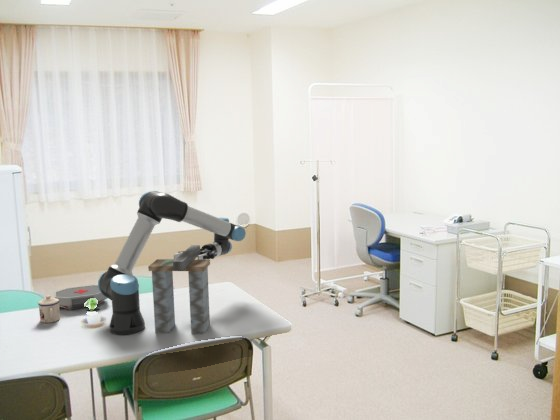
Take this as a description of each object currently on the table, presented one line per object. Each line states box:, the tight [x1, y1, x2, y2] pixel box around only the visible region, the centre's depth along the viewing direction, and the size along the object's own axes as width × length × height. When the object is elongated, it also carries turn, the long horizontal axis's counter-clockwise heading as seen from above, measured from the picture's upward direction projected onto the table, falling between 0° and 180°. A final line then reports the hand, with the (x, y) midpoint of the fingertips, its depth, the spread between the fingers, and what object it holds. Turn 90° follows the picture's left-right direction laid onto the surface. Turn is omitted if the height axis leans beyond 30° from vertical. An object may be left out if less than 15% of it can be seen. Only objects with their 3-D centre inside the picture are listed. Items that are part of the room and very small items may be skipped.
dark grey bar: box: [173, 244, 201, 272], centre depth 236 cm, size 4×30×4 cm, turn 175°
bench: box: [148, 258, 211, 334], centre depth 237 cm, size 24×12×30 cm, turn 85°
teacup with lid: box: [37, 294, 61, 324], centre depth 251 cm, size 12×9×12 cm
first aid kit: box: [54, 284, 108, 310], centre depth 273 cm, size 18×8×25 cm
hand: (186, 257), depth 253 cm, fingers open, 13 cm apart
